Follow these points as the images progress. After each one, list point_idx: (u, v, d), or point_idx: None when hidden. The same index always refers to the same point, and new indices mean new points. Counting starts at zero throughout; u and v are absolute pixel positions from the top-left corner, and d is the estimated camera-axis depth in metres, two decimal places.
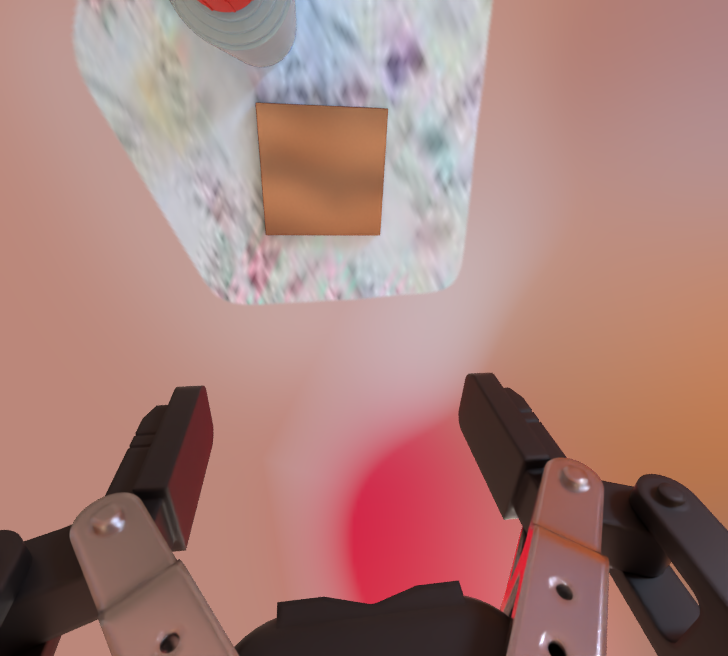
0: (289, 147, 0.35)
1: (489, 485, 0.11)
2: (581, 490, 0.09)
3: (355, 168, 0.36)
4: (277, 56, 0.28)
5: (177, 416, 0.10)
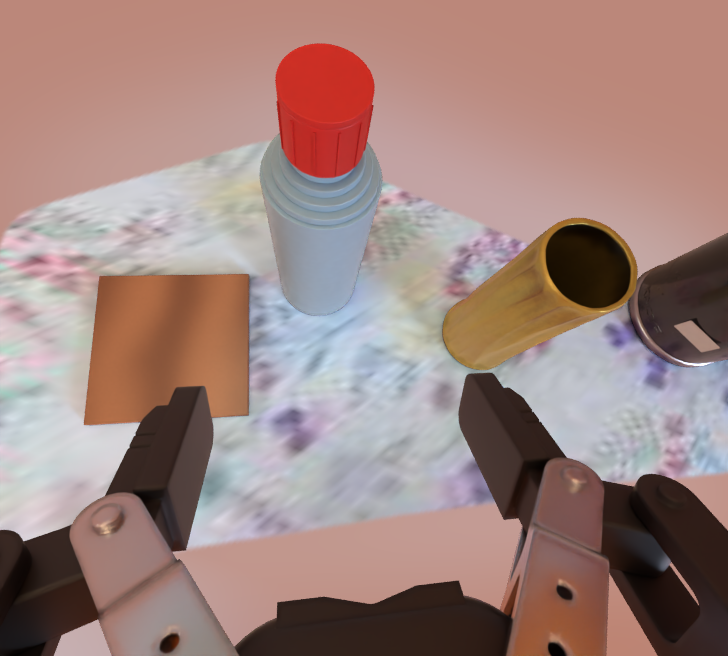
0: (204, 305, 0.31)
1: (489, 485, 0.11)
2: (581, 490, 0.09)
3: (179, 381, 0.29)
4: (284, 280, 0.28)
5: (177, 416, 0.10)
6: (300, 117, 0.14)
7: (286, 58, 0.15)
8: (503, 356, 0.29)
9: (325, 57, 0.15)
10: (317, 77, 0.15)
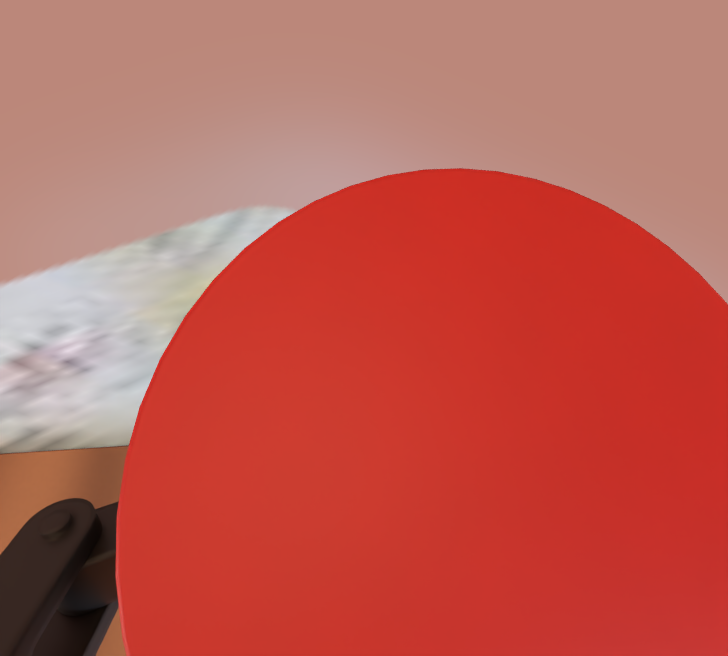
0: None
1: None
2: None
3: None
4: None
5: None
6: None
7: (220, 304, 0.02)
8: None
9: (483, 269, 0.02)
10: (446, 448, 0.02)
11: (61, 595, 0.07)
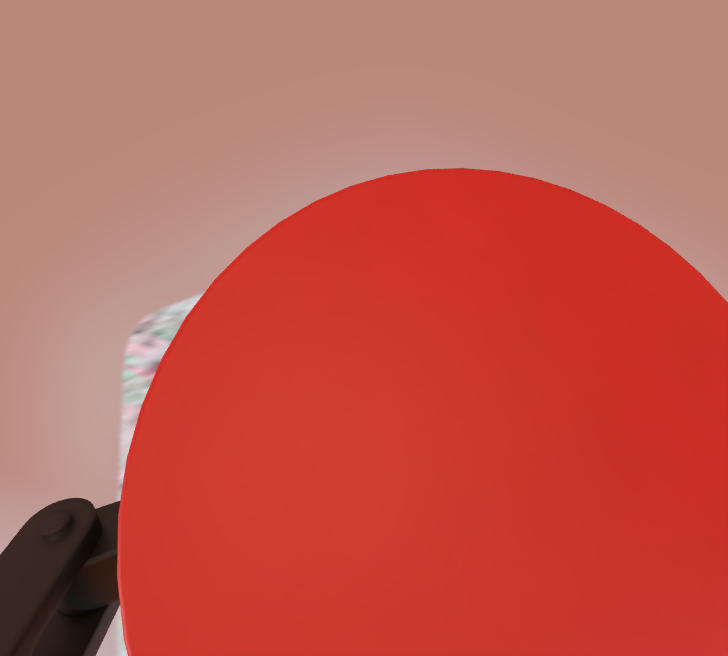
0: None
1: None
2: None
3: None
4: None
5: None
6: None
7: (219, 305, 0.02)
8: None
9: (485, 269, 0.02)
10: (448, 447, 0.02)
11: (61, 595, 0.07)
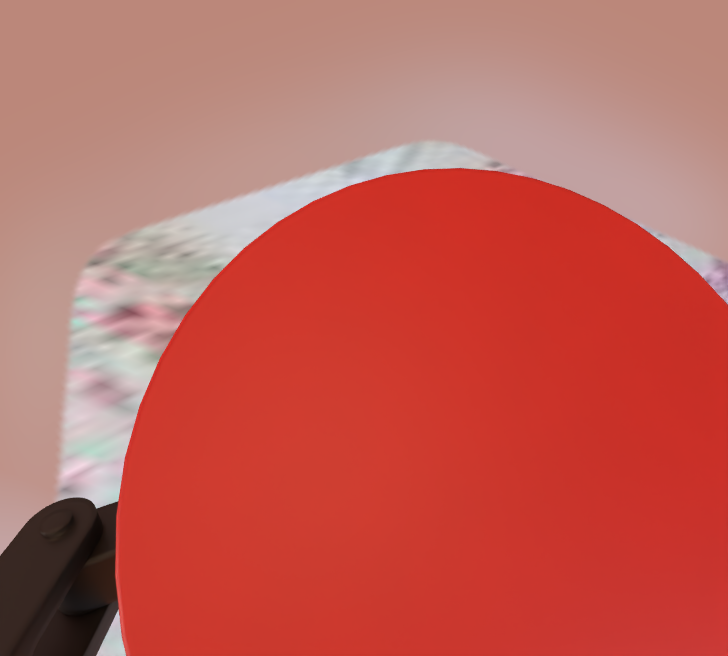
0: None
1: None
2: None
3: None
4: None
5: None
6: None
7: (218, 304, 0.02)
8: None
9: (483, 269, 0.02)
10: (445, 447, 0.02)
11: (62, 595, 0.07)
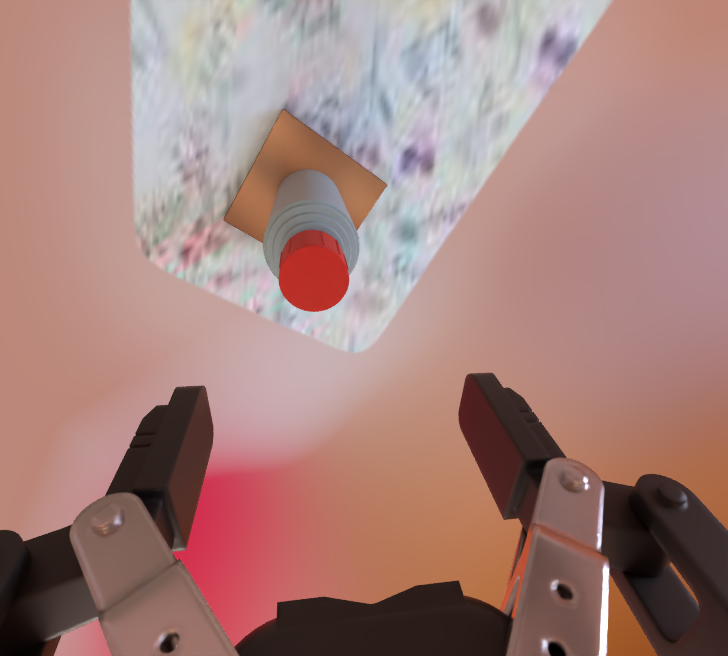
0: (290, 162, 0.36)
1: (489, 485, 0.11)
2: (581, 490, 0.09)
3: None
4: None
5: (177, 416, 0.10)
6: (329, 307, 0.22)
7: (284, 292, 0.21)
8: None
9: (295, 268, 0.20)
10: (308, 283, 0.21)
11: None
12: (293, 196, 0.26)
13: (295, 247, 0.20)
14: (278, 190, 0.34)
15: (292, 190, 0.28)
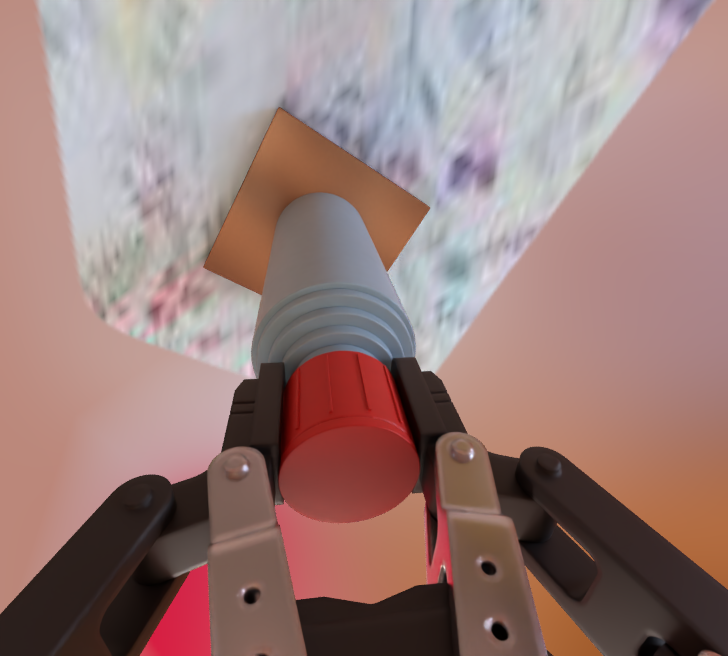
0: (292, 183, 0.25)
1: None
2: (465, 460, 0.09)
3: None
4: None
5: (269, 387, 0.11)
6: (379, 512, 0.11)
7: (291, 502, 0.10)
8: None
9: (312, 464, 0.10)
10: (338, 483, 0.10)
11: (133, 566, 0.07)
12: (300, 267, 0.15)
13: (310, 418, 0.10)
14: (277, 229, 0.23)
15: (298, 247, 0.17)
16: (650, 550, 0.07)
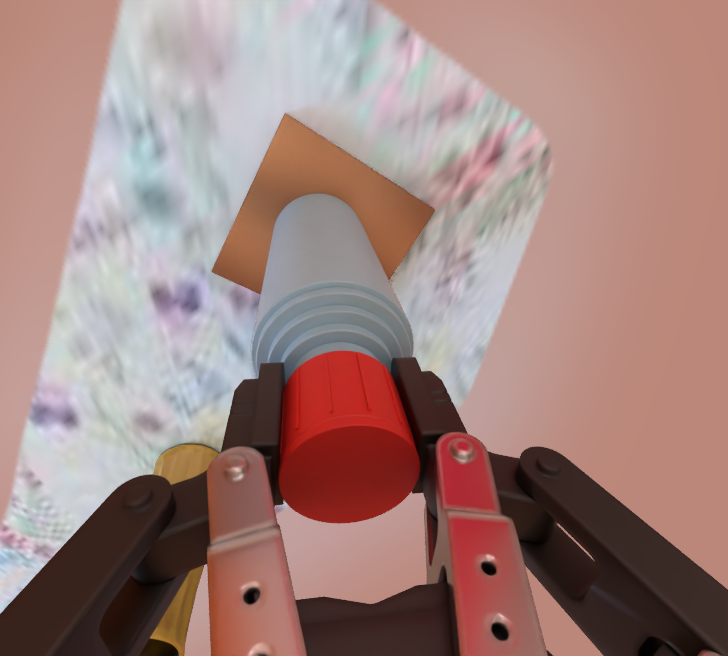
0: None
1: None
2: (465, 460, 0.09)
3: None
4: (317, 209, 0.22)
5: (269, 387, 0.11)
6: (378, 512, 0.11)
7: (291, 502, 0.10)
8: None
9: (312, 464, 0.10)
10: (338, 484, 0.10)
11: (133, 567, 0.07)
12: None
13: (310, 418, 0.10)
14: None
15: None
16: (650, 550, 0.07)
